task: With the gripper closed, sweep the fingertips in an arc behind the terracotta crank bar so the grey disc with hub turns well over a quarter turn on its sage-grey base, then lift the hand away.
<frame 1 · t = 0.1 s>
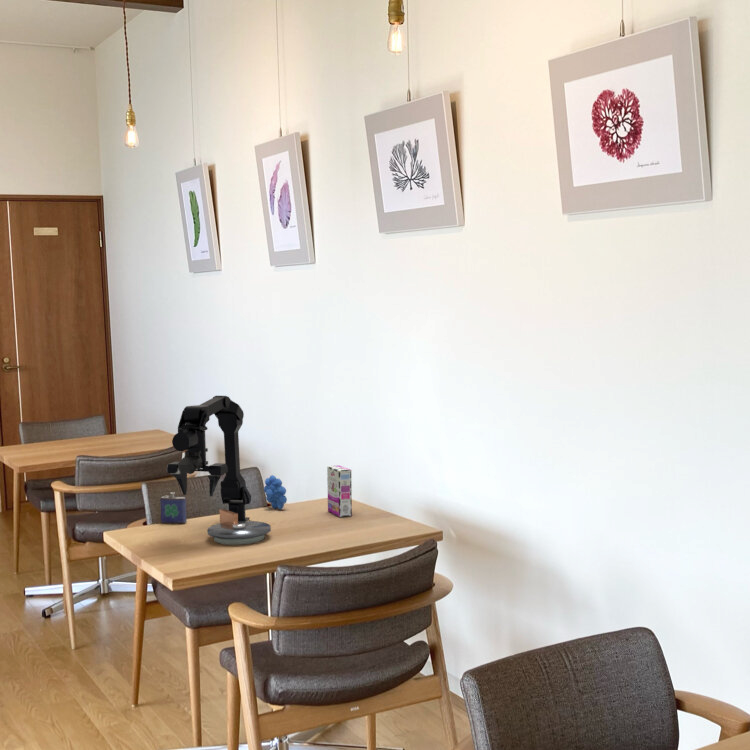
hand: (198, 495, 308), 15 cm above the table, fingers open, 9 cm apart
grapes: (273, 509, 354), on the table
flask: (173, 523, 334), on the table
valve base: (239, 538, 312), on the table
grey disc with hub: (238, 522, 312), point 5 cm above the table, hinge at 0.0°
candy bar box: (340, 514, 344), on the table
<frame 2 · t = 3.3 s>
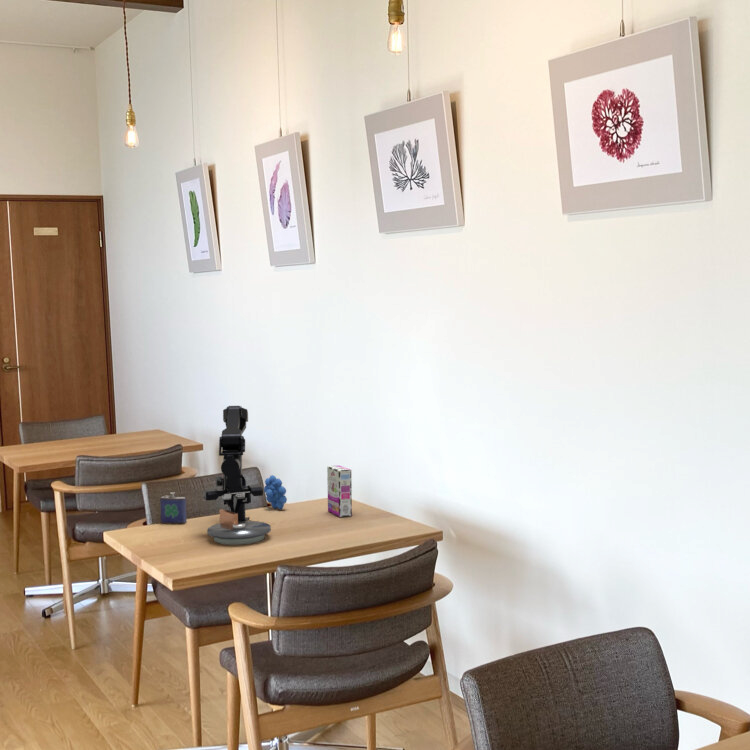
hand: (233, 518, 320), 5 cm above the table, fingers closed
grey disc with hub: (238, 522, 312), point 5 cm above the table, hinge at 0.0°, touching gripper
everything else where it was.
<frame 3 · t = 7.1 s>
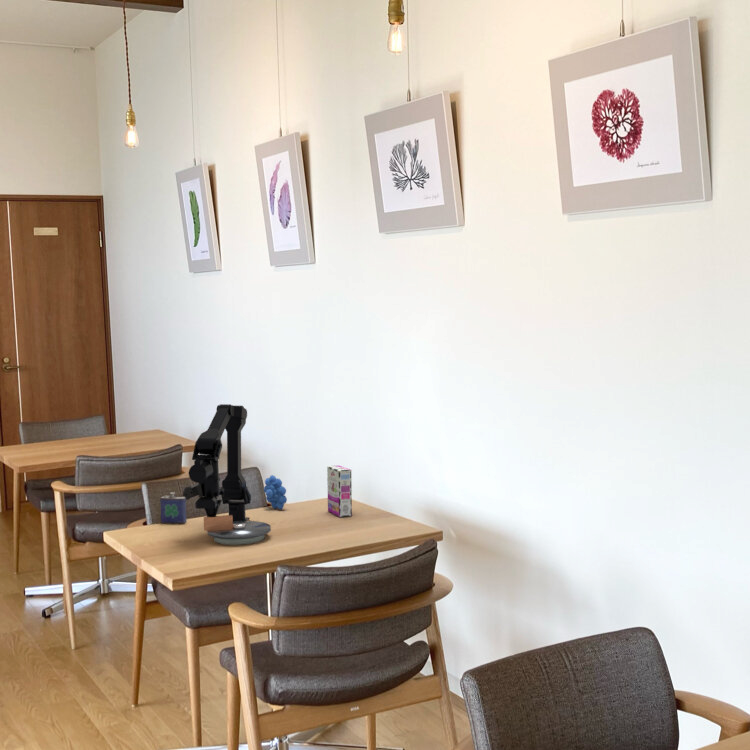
hand: (211, 523, 313), 5 cm above the table, fingers closed
grey disc with hub: (237, 523, 311), point 5 cm above the table, hinge at 63.7°, touching gripper
everything else where it was.
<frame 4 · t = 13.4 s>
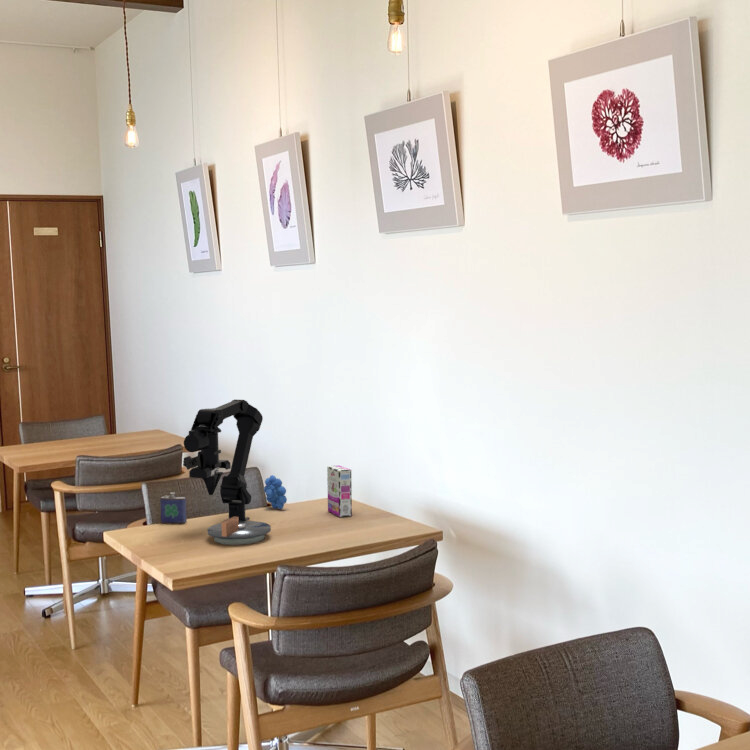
hand: (211, 494, 321), 12 cm above the table, fingers closed
grey disc with hub: (238, 523, 311), point 5 cm above the table, hinge at 125.5°
everything else where it was.
at the end: grey disc with hub at +126° (first picture: +0°) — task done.
